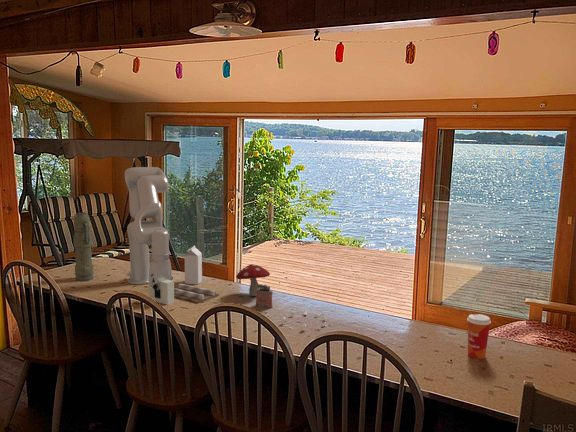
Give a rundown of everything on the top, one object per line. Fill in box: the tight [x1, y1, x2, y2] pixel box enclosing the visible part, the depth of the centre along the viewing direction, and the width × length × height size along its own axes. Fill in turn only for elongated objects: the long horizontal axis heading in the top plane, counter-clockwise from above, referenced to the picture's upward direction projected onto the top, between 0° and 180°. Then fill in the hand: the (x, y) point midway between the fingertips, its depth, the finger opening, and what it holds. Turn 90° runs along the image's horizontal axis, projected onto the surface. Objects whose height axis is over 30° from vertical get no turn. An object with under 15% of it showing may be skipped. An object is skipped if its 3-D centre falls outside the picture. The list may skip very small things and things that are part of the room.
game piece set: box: [280, 309, 329, 332], centre depth 203 cm, size 19×20×4 cm
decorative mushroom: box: [235, 263, 271, 297], centre depth 238 cm, size 16×16×15 cm
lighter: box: [255, 283, 273, 310], centre depth 222 cm, size 8×3×10 cm, turn 65°
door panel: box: [148, 279, 175, 306], centre depth 227 cm, size 12×4×10 cm, turn 58°
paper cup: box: [466, 313, 492, 360], centre depth 172 cm, size 8×8×14 cm
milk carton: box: [184, 245, 203, 285], centre depth 257 cm, size 7×7×19 cm
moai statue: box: [72, 212, 94, 282], centre depth 261 cm, size 9×12×35 cm
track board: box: [174, 283, 219, 304], centre depth 237 cm, size 22×14×3 cm, turn 58°
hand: (161, 296), depth 228 cm, fingers closed on door panel, 4 cm apart
